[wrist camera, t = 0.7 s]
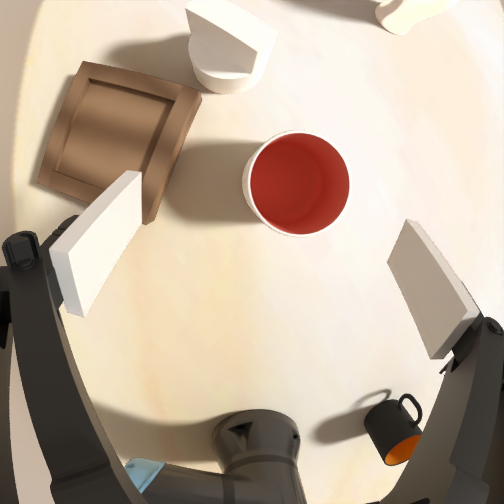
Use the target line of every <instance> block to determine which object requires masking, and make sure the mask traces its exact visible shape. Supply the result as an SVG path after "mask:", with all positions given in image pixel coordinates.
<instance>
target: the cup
mask: <svg viewBox="0 0 504 504" xmlns="http://www.w3.org/2000/svg"><path fill="white" fill-rule="evenodd" d="M242 190H243V194H244V197H245V200H246V202H247V204H248V205H249V207H250V208H251V209H252V211H253V212H254V213H255V214H256V215H257V216H258V217H259V219H260V220H261V221H262V222H263V223H264V224H266V225H267V226H268V227H269V228H271V229H272V230H274V231H276V232H278V233H280V234H283V235H286V236H290V237H310V236H314V235H317V234H320V233H322V232H324V231H326V230H327V229H329V228H330V227H332V226H333V225H334V224H335V223H336V222H337V221H338V220H339V219H340V218H341V216H342V215H343V213H344V212H345V210H346V208H347V206H348V203H349V200H350V197H351V190H352V178H351V173H350V169H349V166H348V163H347V161H346V159H345V157H344V156H343V154H342V153H341V151H340V150H339V149H338V148H337V146H336V145H334V144H333V143H332V142H331V141H330V140H328V139H327V138H325V137H323V136H322V135H319V134H317V133H314V132H311V131H305V130H292V131H286V132H283V133H280V134H277V135H275V136H273V137H272V138H270V139H269V140H267V141H266V142H265V143H264V144H263V145H262V146H261V147H260V148H259V149H258V150H257V151H256V152H255V153H254V154H253V155H252V156H251V157H250V159H249V160H248V162H247V164H246V166H245V168H244V171H243V176H242Z"/></svg>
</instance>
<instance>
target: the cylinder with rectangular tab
mask: <svg viewBox="0 0 504 504" xmlns="http://www.w3.org/2000/svg"><path fill="white" fill-rule="evenodd" d="M185 10H186V14H187V18H188V23H189V27H190V31H191V36H190V38H189V43H188V51H189V55H190V59H191V63H192V66H193V69H194V73H195V76H196V77H197V79H198V81H199V82H200V83H201V84H202V85H203V86H204V87H205V88H207V89H209V90H211V91H213V92H216V93H220V94H237V93H242V92H244V91H246V90H248V89H250V88H252V87H253V86H254V85H255V84H256V83H257V82H258V81H259V80H260V78H261V77H262V75H263V72H264V69H265V67H266V64H267V61H268V58H269V56H270V53H271V50H272V48H273V45H274V42H275V40H276V37H277V35H278V31H277V30H275V29H274V28H272V27H271V26H269V25H268V24H266V23H264V22H263V21H261V20H260V19H258V18H257V17H255V16H253V15H252V14H250V13H249V12H247V11H245V10H243V9H242V8H240V7H238V6H237V5H235V4H233V3H231V2H230V1H228V0H191V1H190V2H189V3H188V4H187V5H186V7H185Z"/></svg>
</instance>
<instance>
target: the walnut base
mask: <svg viewBox="0 0 504 504" xmlns="http://www.w3.org/2000/svg"><path fill="white" fill-rule="evenodd" d="M201 102H202V97H201V94H200V91H199V90H196V89H193V88H190V87H187V86H184V85H180V84H177V83H174V82H170V81H167V80H163V79H160V78H156V77H153V76H149V75H145V74H141V73H137V72H133V71H129V70H125V69H120V68H116V67H111V66H107V65H102V64H97V63H91V62H86V61H83V62H82V64H81V66H80V68H79V70H78V72H77V74H76V76H75V78H74V80H73V82H72V85H71V87H70V89H69V91H68V94H67V96H66V98H65V101H64V103H63V105H62V108H61V110H60V113H59V115H58V118H57V121H56V123H55V126H54V129H53V132H52V134H51V137H50V140H49V143H48V146H47V149H46V152H45V156H44V159H43V162H42V166H41V169H40V173H39V176H38V180H37V183H40V184H42V185H45V186H47V187H50V188H52V189H55V190H57V191H60V192H62V193H65V194H67V195H70V196H72V197H75V198H77V199H80V200H82V201H85V202H87V203H90V204H92V203H93V202H94V201H95V200H96V199H97V198H98V197H99V196H100V195H101V194H102V193H103V192H104V191H105V190H106V189H107V188H108V187H109V186H110V185H111V184H112V183H114V182H115V181H116V180H117V179H118V178H119V177H120V176H121V175H122V174H123V173H125V172H126V171H127V170H128V171H138V172H142V178H141V206H142V223H141V224H144V225H147V224H149V223H150V222H152V221H154V220H155V217H156V214H157V211H158V208H159V205H160V202H161V200H162V197H163V194H164V191H165V189H166V186H167V183H168V181H169V178H170V175H171V173H172V170H173V168H174V165H175V163H176V160H177V158H178V155H179V153H180V150H181V148H182V145H183V143H184V140H185V138H186V136H187V133H188V131H189V129H190V126H191V124H192V122H193V120H194V117H195V115H196V113H197V111H198V108H199V106H200V104H201Z"/></svg>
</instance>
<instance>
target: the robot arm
mask: <svg viewBox="0 0 504 504" xmlns="http://www.w3.org/2000/svg"><path fill="white" fill-rule="evenodd" d="M141 178H142V172H138V171H128V170H127V171H126V172H125V173H123V174H122V175H121V176H120V177H119V178H118V179H117V180H116V181H115V182H114V183H112V184H111V185H110V186H109V187H108V188H107V189H106V190H105V191H104V192H103V193H102V194H101V195H100V196H99V197H98V198H97V199H96V200H95V201H94V202H93V203H92V204H91V205H90V206H89V207H88V208H87V209H86V210H85V211H84V212H83V213H82V214H81V215H74V216H72V217H70V218H68V219H66V220H65V221H64V222H63V223H62V224H61V225H60V226H59V227H58V229H56V230H55V231H54V232H53V233H52V235H50V236H49V237H48V238H47V239H46V240H45V242H44V243H43V244H42V245H41V246H39V242H38V238H37V235H36V233H34V232H32V231H21V232H18V233H15V234H13V235H11V236H10V237H8V238H7V239H6V240H5V241H4V243H3V245H2V250H3V253H4V257H5V259H6V263H7V266H1V267H0V504H19V500H18V495H17V489H16V484H15V478H14V470H13V462H12V452H11V440H10V422H9V386H10V366H11V354H12V344H13V335H14V342H15V349H16V355H17V361H18V366H19V371H20V376H21V381H22V386H23V390H24V394H25V398H26V402H27V406H28V409H29V413H30V416H31V420H32V423H33V426H34V429H35V432H36V436H37V439H38V442H39V444H40V447H41V450H42V453H43V456H44V458H45V461H46V463H47V466H48V468H49V471H50V474H51V477H52V482H51V485H50V490H51V494H52V497H53V499H54V502H55V504H307V501H306V498H305V494H304V490H303V487H302V483H301V479H300V476H299V472H298V468H297V460H298V454H299V448H300V435H299V431H298V428H297V425H296V424H295V422H294V421H293V420H292V419H291V418H289V417H288V416H286V415H284V414H282V413H279V412H275V411H270V410H250V411H245V412H240V413H237V414H234V415H232V416H230V417H228V418H226V419H225V420H223V421H222V422H221V423H219V424H218V425H217V427H216V428H215V430H214V432H213V435H212V449H213V453H214V455H215V457H216V460H217V462H218V464H219V466H220V468H221V470H222V473H223V474H220V473H213V472H207V471H201V470H196V469H191V468H186V467H181V466H176V465H172V464H168V463H166V462H164V461H162V462H159V461H154V460H149V459H145V458H140V457H138V458H133V459H131V460H130V461H128V463H127V464H126V465H125V467H123V465H122V463H121V462H120V460H119V458H118V456H117V454H116V452H115V451H114V449H113V447H112V445H111V443H110V441H109V439H108V437H107V435H106V433H105V431H104V429H103V427H102V425H101V423H100V421H99V419H98V416H97V414H96V412H95V410H94V408H93V405H92V403H91V401H90V398H89V396H88V393H87V391H86V389H85V386H84V384H83V381H82V378H81V376H80V373H79V371H78V368H77V365H76V362H75V359H74V357H73V354H72V351H71V348H70V345H69V341H68V338H67V335H66V332H65V328H64V325H63V322H62V318H61V314H60V312H59V307H60V305H61V304H62V302H63V301H64V304H65V307H66V310H67V313H71V314H74V315H78V316H81V317H85V316H86V314H87V312H88V310H89V309H90V307H91V305H92V303H93V301H94V300H95V298H96V296H97V294H98V293H99V291H100V289H101V287H102V286H103V284H104V282H105V280H106V279H107V277H108V275H109V274H110V272H111V270H112V269H113V267H114V265H115V264H116V262H117V261H118V259H119V257H120V256H121V254H122V253H123V251H124V249H125V248H126V246H127V245H128V243H129V241H130V240H131V238H132V237H133V235H134V234H135V232H136V231H137V229H138V228H139V226H140V225H141V223H142V206H141ZM387 263H388V265H389V267H390V269H391V271H392V273H393V275H394V277H395V280H396V282H397V284H398V286H399V288H400V290H401V292H402V294H403V296H404V299H405V301H406V303H407V305H408V307H409V310H410V312H411V314H412V316H413V319H414V321H415V323H416V326H417V328H418V330H419V333H420V335H421V338H422V340H423V343H424V345H425V348H426V350H427V353H428V355H429V358H430V359H444V358H445V356H446V355H447V354H448V353H449V352H450V350H451V349H452V352H453V354H454V356H453V357H452V358H451V360H450V361H449V362H448V363H447V364H446V365H445V366H444V367H443V369H442V370H441V371H440V372H439V373H440V374H442V373H443V372H444V371H446V373H445V375H444V379H443V382H442V385H441V388H440V390H439V393H438V396H437V399H436V401H435V404H434V406H433V409H432V411H431V414H430V416H429V419H428V421H427V423H426V426H425V428H424V430H423V432H422V435H421V437H420V439H419V441H418V443H417V445H416V447H415V449H414V451H413V453H412V455H411V457H410V459H409V461H408V463H407V465H406V467H405V469H404V471H403V473H402V474H401V476H400V478H399V480H398V481H397V483H396V485H395V487H394V488H393V490H392V491H391V492H390V493H389V494H388V495H387V496H386V497H384V498H383V499H382V500H381V501H380V502H379V501H378V502H372V503H367V504H504V330H503V328H502V327H501V326H500V324H499V323H498V322H497V321H496V320H494V319H492V318H491V317H485V318H484V316H483V314H482V313H481V311H480V309H479V308H478V306H477V304H476V303H475V301H474V299H473V298H471V297H472V296H471V295H470V293H469V292H468V290H467V288H466V287H465V285H464V284H463V282H462V281H461V280H460V279H459V277H458V276H457V274H456V273H455V272H454V270H453V269H452V267H451V266H450V264H449V263H448V261H447V260H446V259H445V257H444V256H443V254H442V253H441V252H440V250H439V249H438V248H437V246H436V245H435V244H434V242H433V241H432V240H431V238H430V237H429V236H428V234H427V233H426V232H425V230H424V229H423V228H422V227H421V225H420V224H419V223H418V222H417V221H413V220H409V219H406V221H405V223H404V225H403V228H402V230H401V232H400V235H399V237H398V239H397V241H396V244H395V246H394V248H393V250H392V252H391V254H390V257H389V259H388V261H387Z"/></svg>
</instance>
